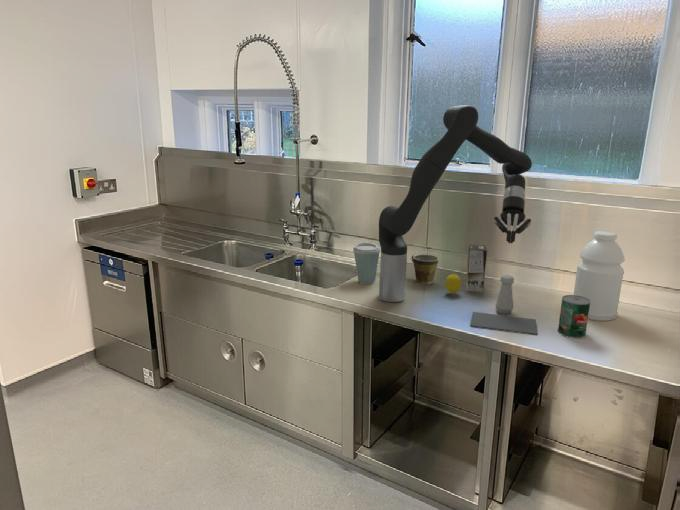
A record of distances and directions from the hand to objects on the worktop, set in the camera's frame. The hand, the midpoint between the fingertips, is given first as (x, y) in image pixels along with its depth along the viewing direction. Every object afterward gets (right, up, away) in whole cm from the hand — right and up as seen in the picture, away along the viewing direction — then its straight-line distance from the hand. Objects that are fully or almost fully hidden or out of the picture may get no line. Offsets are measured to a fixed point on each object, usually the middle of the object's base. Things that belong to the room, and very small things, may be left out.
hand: (510, 242), depth 180 cm
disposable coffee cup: (-49, -15, +26) cm, 57 cm away
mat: (-7, -27, -13) cm, 30 cm away
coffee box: (-7, -17, +21) cm, 28 cm away
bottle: (+27, -25, -4) cm, 36 cm away
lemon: (-17, -19, +13) cm, 29 cm away
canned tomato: (+12, -29, -20) cm, 37 cm away
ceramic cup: (-26, -15, +28) cm, 41 cm away
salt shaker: (-4, -24, -4) cm, 25 cm away
